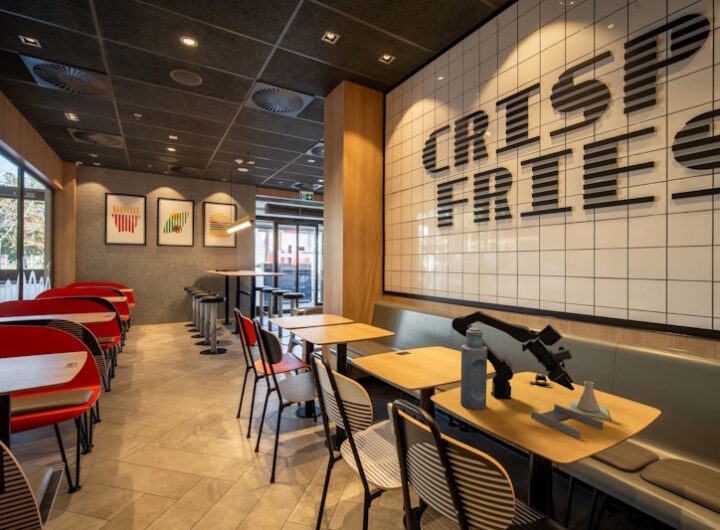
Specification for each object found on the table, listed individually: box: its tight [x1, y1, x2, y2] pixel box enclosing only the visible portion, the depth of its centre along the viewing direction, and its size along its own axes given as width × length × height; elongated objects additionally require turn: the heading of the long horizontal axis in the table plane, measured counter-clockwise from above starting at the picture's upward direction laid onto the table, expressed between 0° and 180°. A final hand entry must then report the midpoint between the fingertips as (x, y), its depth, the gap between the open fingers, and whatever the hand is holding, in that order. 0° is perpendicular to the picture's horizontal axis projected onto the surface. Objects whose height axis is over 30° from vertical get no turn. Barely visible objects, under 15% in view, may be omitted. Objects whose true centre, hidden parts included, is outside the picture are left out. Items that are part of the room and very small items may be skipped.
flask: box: [577, 380, 600, 412], centre depth 138 cm, size 7×7×10 cm
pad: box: [569, 400, 611, 421], centre depth 138 cm, size 12×12×1 cm
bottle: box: [459, 327, 488, 410], centre depth 142 cm, size 10×10×30 cm
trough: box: [530, 403, 604, 440], centre depth 127 cm, size 17×14×2 cm
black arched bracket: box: [529, 373, 551, 387], centre depth 167 cm, size 12×7×5 cm, turn 72°
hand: (572, 386), depth 140 cm, fingers open, 9 cm apart
